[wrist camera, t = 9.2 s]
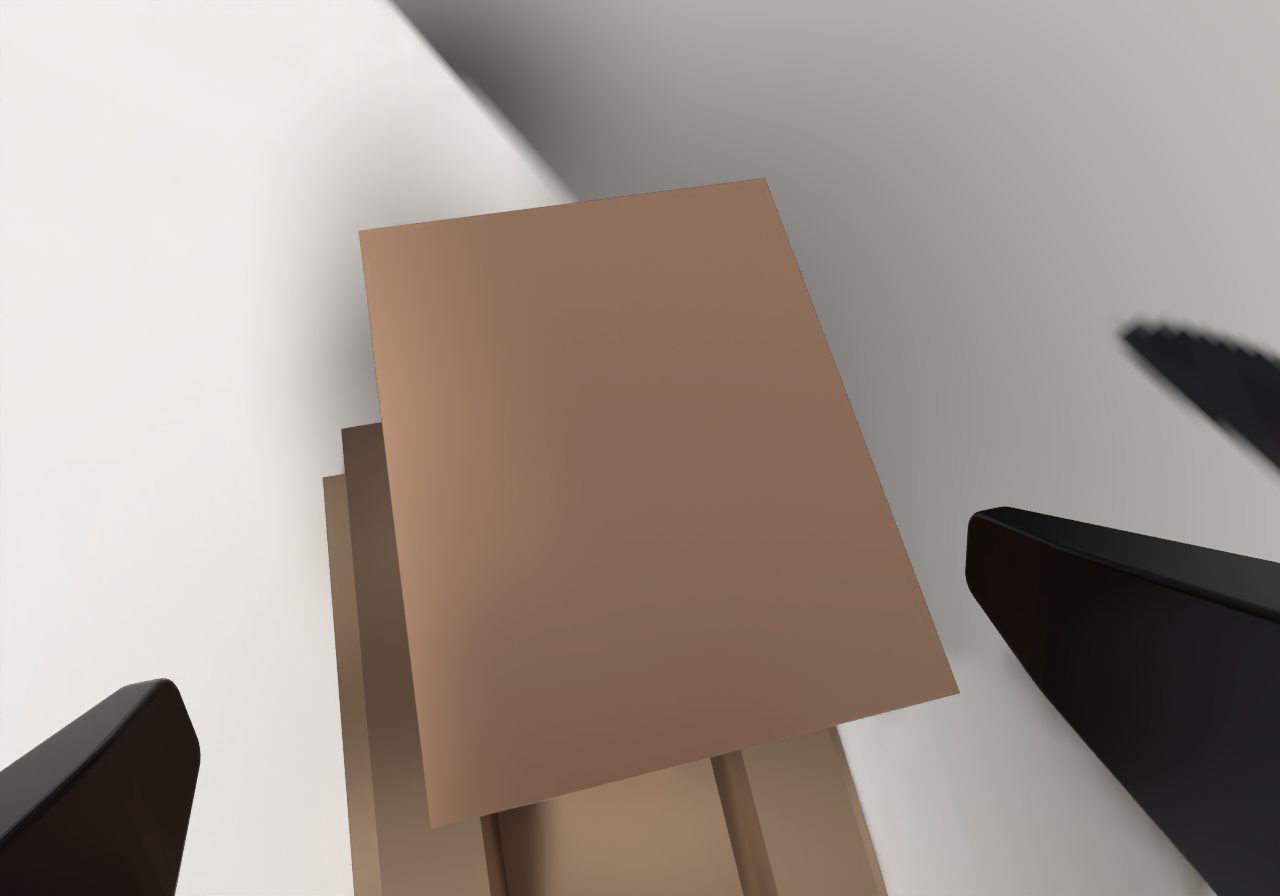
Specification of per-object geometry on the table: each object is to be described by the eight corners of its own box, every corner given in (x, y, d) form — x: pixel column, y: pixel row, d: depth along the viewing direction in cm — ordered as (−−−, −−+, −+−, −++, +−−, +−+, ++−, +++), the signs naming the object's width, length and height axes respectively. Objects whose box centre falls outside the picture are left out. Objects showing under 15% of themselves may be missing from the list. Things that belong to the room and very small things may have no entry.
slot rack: (883, 944, 16) (987, 994, 12) (386, 1093, 14) (316, 1207, 10) (729, 426, 21) (767, 338, 17) (337, 495, 19) (274, 416, 15)
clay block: (672, 767, 16) (960, 692, 4) (536, 802, 16) (430, 829, 4) (632, 597, 17) (765, 177, 6) (506, 625, 17) (358, 231, 5)
